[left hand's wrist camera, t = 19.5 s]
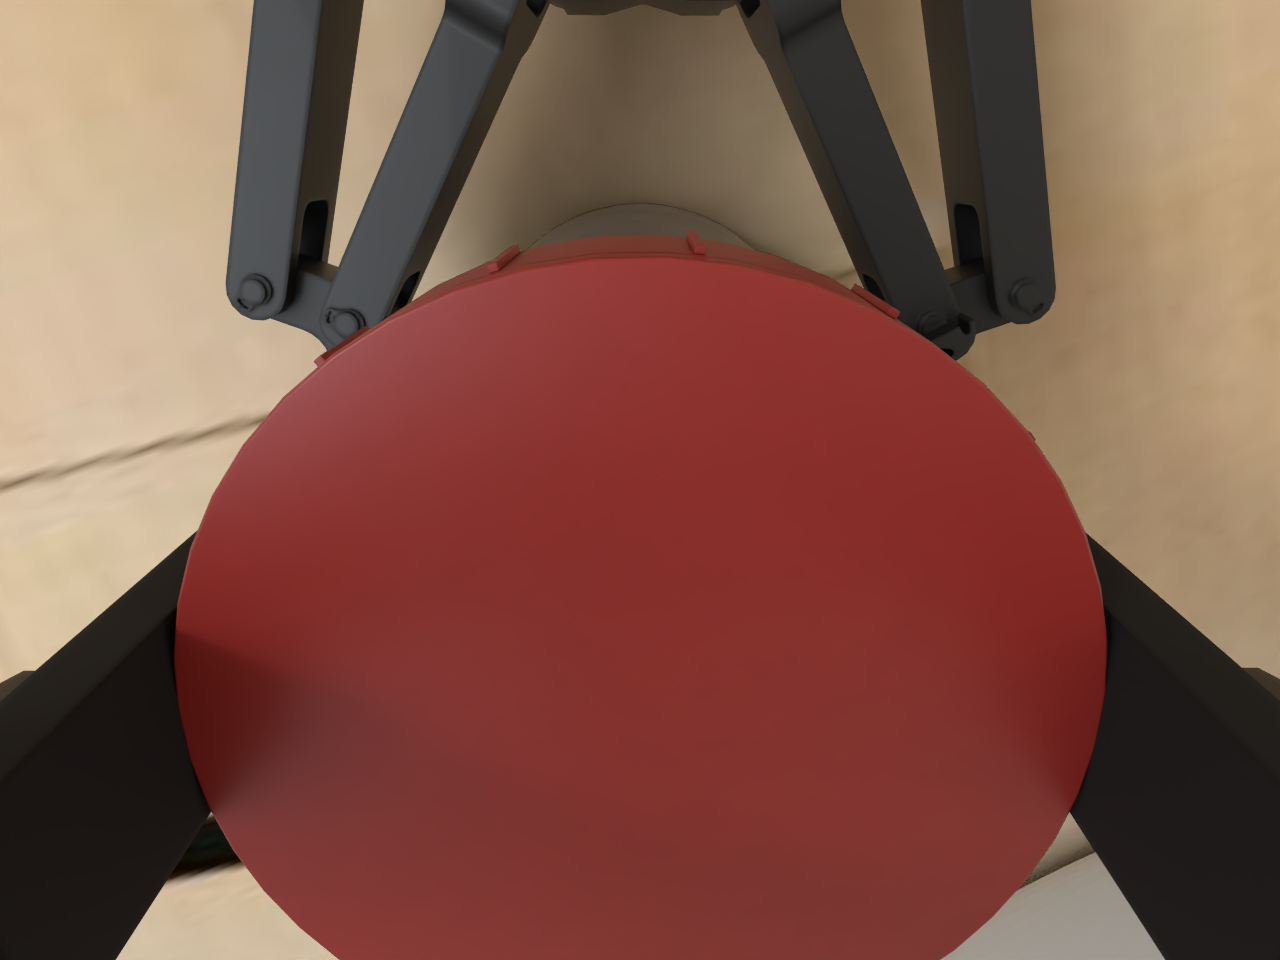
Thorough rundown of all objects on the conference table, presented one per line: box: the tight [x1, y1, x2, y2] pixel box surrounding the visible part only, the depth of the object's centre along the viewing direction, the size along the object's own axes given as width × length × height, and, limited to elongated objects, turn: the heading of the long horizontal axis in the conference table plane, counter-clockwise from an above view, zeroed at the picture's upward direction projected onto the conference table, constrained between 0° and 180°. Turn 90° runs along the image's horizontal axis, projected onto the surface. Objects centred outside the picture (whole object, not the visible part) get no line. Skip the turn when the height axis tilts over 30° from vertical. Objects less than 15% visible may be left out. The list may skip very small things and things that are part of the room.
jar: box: [527, 203, 754, 250], centre depth 18 cm, size 9×9×16 cm
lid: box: [174, 230, 1108, 960], centre depth 11 cm, size 10×10×2 cm
